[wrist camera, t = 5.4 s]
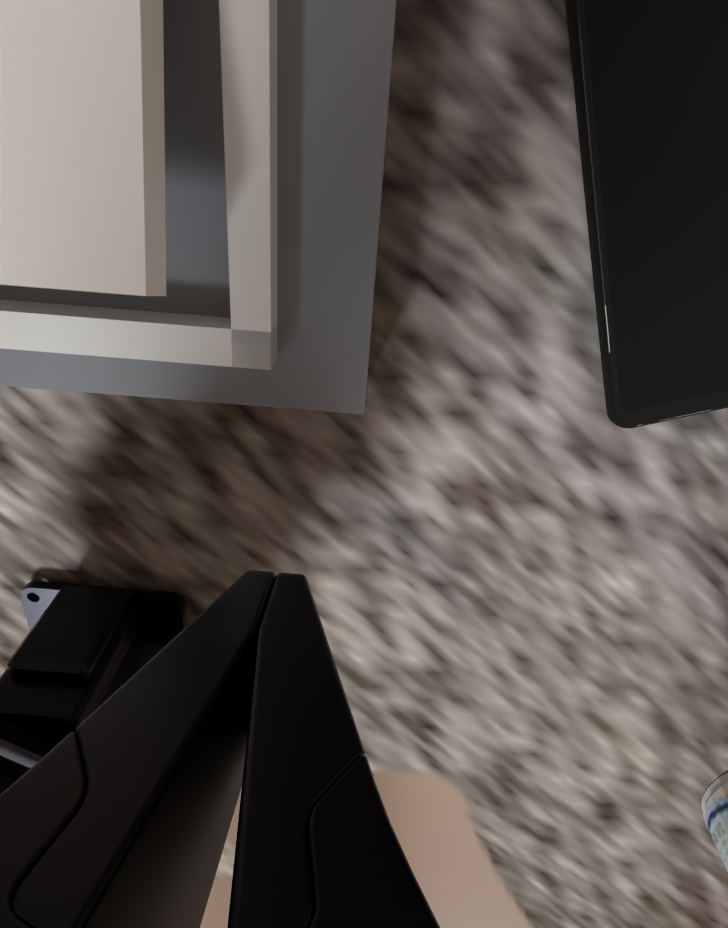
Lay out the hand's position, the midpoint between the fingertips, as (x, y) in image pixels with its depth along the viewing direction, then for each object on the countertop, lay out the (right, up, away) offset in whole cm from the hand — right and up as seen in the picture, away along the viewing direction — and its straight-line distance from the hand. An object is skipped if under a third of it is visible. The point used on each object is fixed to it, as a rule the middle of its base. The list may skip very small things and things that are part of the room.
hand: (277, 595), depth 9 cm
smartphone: (+11, +10, +8) cm, 17 cm away
